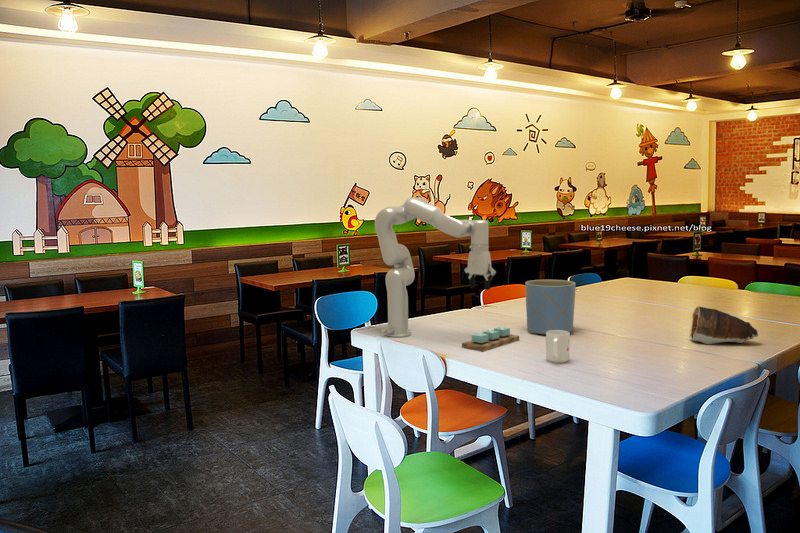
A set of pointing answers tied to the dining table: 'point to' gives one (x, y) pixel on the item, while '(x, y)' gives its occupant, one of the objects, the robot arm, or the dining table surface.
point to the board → (490, 343)
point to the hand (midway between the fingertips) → (479, 288)
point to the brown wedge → (719, 327)
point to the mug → (557, 346)
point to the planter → (550, 305)
